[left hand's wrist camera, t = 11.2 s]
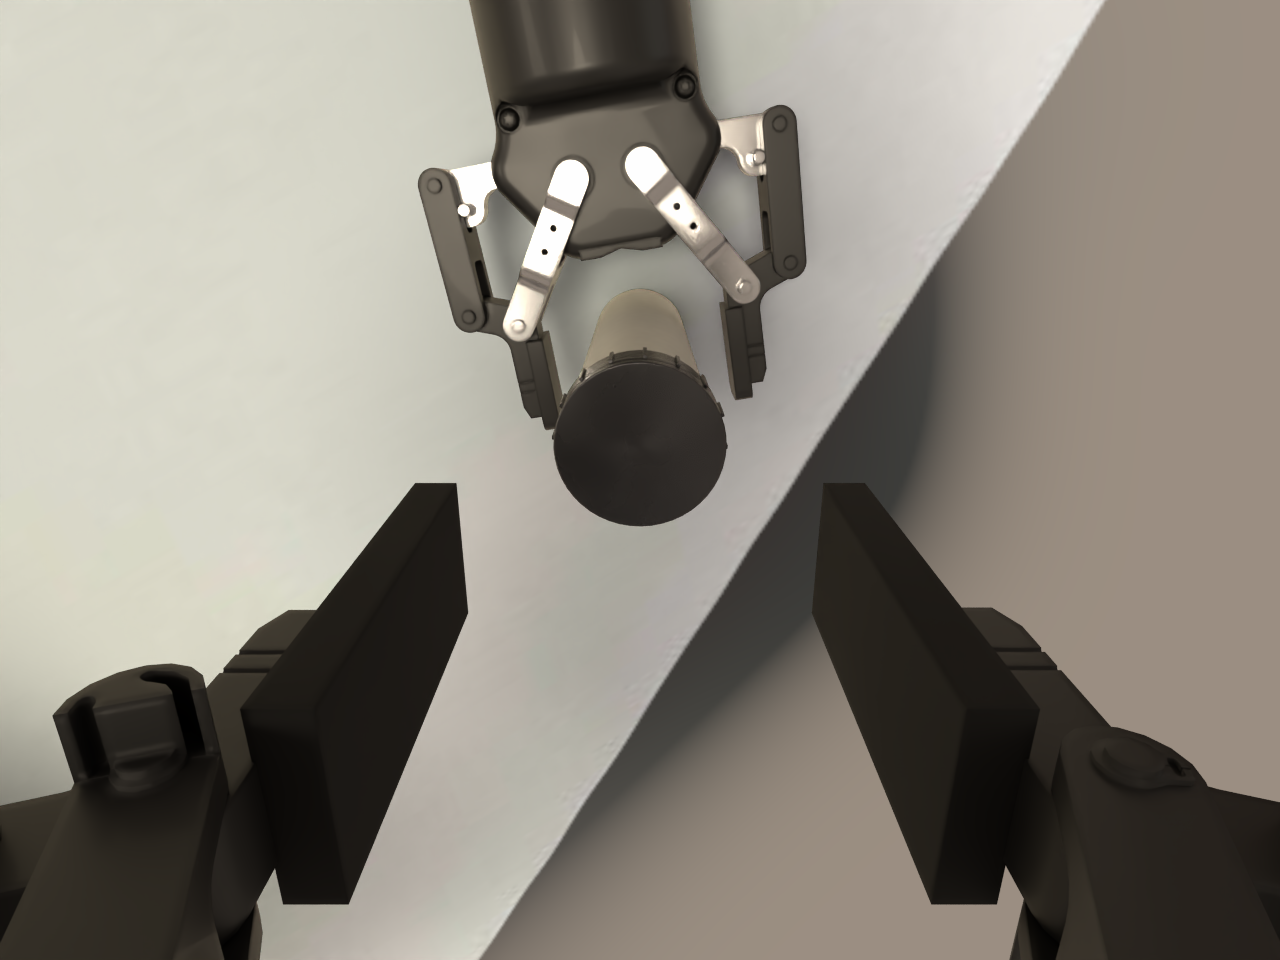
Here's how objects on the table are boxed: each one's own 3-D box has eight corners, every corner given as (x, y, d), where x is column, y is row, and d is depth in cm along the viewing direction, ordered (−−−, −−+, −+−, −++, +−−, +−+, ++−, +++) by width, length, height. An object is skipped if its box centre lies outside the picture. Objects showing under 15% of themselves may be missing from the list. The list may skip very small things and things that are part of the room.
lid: (612, 531, 23) (610, 556, 21) (526, 400, 21) (517, 417, 20) (750, 456, 22) (758, 476, 20) (670, 315, 21) (672, 325, 19)
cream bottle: (625, 391, 38) (613, 538, 22) (580, 317, 36) (532, 415, 20) (698, 348, 37) (744, 468, 21) (655, 271, 36) (668, 336, 20)
